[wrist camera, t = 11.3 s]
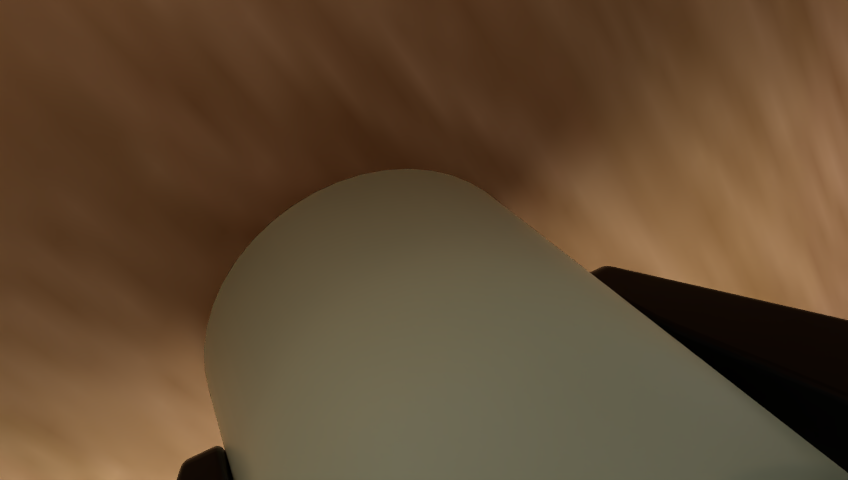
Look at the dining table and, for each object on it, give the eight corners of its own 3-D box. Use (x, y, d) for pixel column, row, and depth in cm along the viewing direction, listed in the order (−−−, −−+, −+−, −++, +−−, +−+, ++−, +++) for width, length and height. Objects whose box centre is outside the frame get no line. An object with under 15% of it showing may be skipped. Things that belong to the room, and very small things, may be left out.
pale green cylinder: (509, 116, 8) (925, 350, 4) (546, 381, 11) (837, 694, 7) (140, 258, 7) (228, 755, 3) (272, 519, 10) (421, 996, 6)
